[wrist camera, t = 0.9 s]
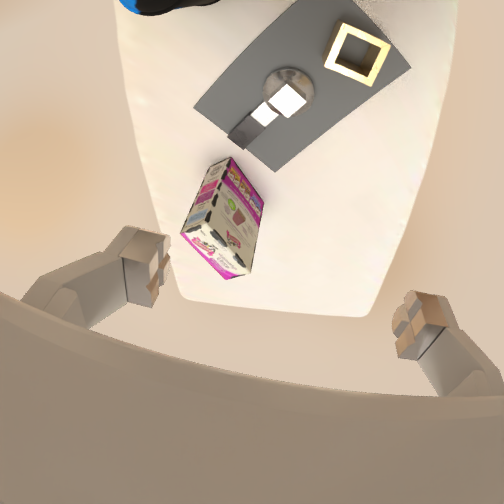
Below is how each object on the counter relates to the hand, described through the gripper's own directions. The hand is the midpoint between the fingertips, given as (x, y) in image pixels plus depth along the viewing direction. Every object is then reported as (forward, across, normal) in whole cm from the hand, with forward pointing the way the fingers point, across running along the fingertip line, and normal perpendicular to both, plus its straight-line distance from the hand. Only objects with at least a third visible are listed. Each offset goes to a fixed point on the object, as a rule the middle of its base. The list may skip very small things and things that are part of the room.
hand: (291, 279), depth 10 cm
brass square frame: (+37, -5, -10) cm, 38 cm away
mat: (+38, 0, -3) cm, 38 cm away
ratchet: (+39, +4, +2) cm, 39 cm away
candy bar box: (+42, +7, +17) cm, 46 cm away
